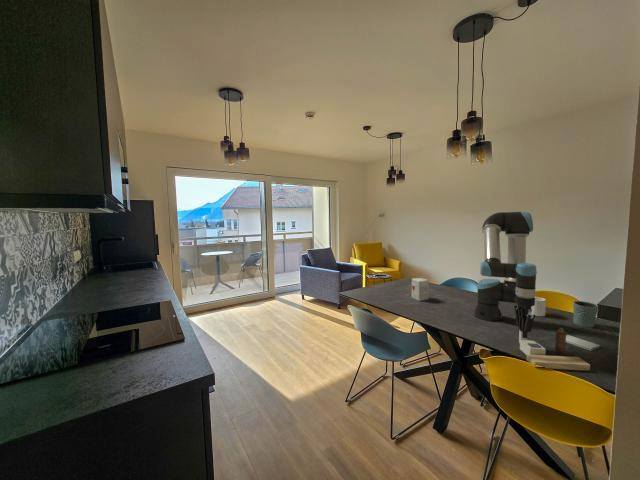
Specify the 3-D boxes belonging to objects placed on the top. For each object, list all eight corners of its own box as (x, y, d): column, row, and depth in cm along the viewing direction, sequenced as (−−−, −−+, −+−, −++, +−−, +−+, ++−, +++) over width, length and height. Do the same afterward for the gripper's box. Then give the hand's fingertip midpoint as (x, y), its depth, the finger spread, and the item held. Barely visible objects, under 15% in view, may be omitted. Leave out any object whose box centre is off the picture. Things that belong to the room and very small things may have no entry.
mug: (551, 313, 170) (552, 298, 169) (540, 317, 165) (541, 301, 164) (537, 309, 177) (537, 295, 176) (525, 312, 172) (526, 297, 171)
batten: (526, 359, 119) (526, 354, 119) (578, 362, 116) (578, 357, 116) (534, 367, 113) (535, 361, 113) (589, 370, 110) (590, 364, 110)
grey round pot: (578, 319, 159) (579, 300, 158) (601, 326, 150) (602, 305, 149) (567, 322, 156) (569, 302, 155) (590, 329, 146) (592, 308, 145)
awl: (553, 350, 126) (554, 326, 125) (561, 351, 126) (562, 327, 124) (558, 354, 123) (559, 330, 122) (566, 355, 122) (568, 330, 121)
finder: (519, 349, 128) (520, 339, 128) (533, 349, 127) (534, 339, 127) (529, 357, 120) (530, 347, 120) (545, 358, 119) (545, 348, 119)
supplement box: (411, 297, 210) (411, 278, 208) (420, 296, 212) (421, 277, 211) (418, 301, 201) (418, 281, 199) (428, 299, 204) (429, 280, 202)
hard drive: (600, 345, 128) (568, 334, 140) (591, 348, 125) (558, 337, 136) (600, 348, 128) (568, 337, 140) (590, 352, 125) (558, 340, 137)
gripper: (509, 291, 136) (507, 336, 138) (524, 300, 123) (521, 349, 125) (525, 291, 134) (523, 337, 137) (542, 300, 122) (540, 350, 124)
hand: (522, 343), depth 131 cm, fingers closed
